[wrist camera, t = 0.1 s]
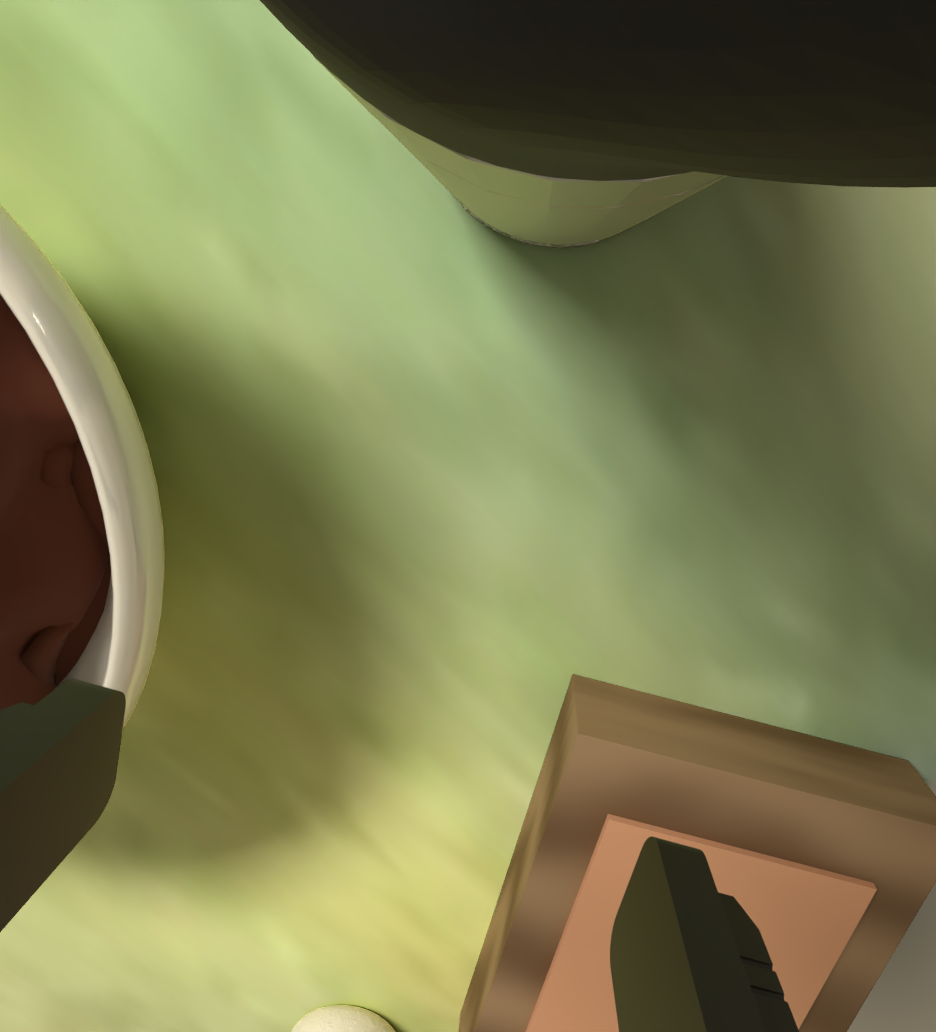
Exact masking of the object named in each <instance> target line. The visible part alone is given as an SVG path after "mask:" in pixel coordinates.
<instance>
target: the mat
mask: <svg viewBox="0 0 936 1032" xmlns="http://www.w3.org/2000/svg"><path fill="white" fill-rule="evenodd" d="M651 836H652V837H656V838H660V839H664V840H667V841H671V842H675V843H678V844H682V845H686V846H690V847H693V848H697V849H700V850H702V851H703V853H704V854H705V856H706V859H707V862H708V865H709V868H710V870H711V873H712V876H713V879H714V882H715V885H716V888H717V891H718V892H719V893H723V894H726V895H730V896H734V898H735V899H736V900H737V901H738V903H739V904H740V905H741V907H742V908H743V909H744V911H745V912H746V913H747V914H748V916H749V917H750V918H751V920H752V921H753V922H754V923H755V925H756V926H757V927H758V929H759V930H760V933H761V935H762V938H763V940H764V943H765V945H766V948H767V951H768V953H769V956H770V958H771V961H772V963H773V967H772V970H773V971H775V972H776V974H777V976H778V979H779V981H780V984H781V986H782V989H783V991H784V1001H786V1002H788V1004H789V1007H790V1009H791V1012H792V1014H793V1017H794V1020H795V1022H796V1025H797V1027H798V1030H799V1028H800V1026H801V1024H802V1023H803V1021H804V1019H805V1017H806V1015H807V1014H808V1012H809V1010H810V1008H811V1006H812V1005H813V1003H814V1001H815V999H816V998H817V996H818V994H819V992H820V990H821V989H822V987H823V985H824V983H825V982H826V980H827V978H828V976H829V974H830V973H831V971H832V969H833V967H834V965H835V964H836V962H837V960H838V958H839V957H840V955H841V953H842V951H843V949H844V948H845V946H846V944H847V942H848V940H849V939H850V937H851V935H852V933H853V932H854V930H855V928H856V926H857V924H858V923H859V921H860V919H861V917H862V915H863V914H864V912H865V910H866V908H867V907H868V905H869V903H870V901H871V899H872V898H873V896H874V894H875V892H876V891H877V888H876V887H875V885H874V883H872V882H868V881H865V880H861V879H857V878H853V877H849V876H845V875H841V874H838V873H834V872H830V871H826V870H822V869H818V868H815V867H811V866H807V865H803V864H799V863H795V862H791V861H788V860H784V859H780V858H776V857H772V856H768V855H765V854H761V853H757V852H753V851H749V850H745V849H741V848H738V847H734V846H730V845H726V844H722V843H718V842H715V841H711V840H707V839H703V838H699V837H695V836H692V835H688V834H684V833H680V832H676V831H672V830H668V829H665V828H661V827H657V826H653V825H649V824H645V823H642V822H638V821H634V820H630V819H626V818H622V817H618V816H615V815H611V814H608V815H607V818H606V820H605V823H604V826H603V828H602V831H601V834H600V836H599V839H598V841H597V844H596V847H595V849H594V852H593V855H592V857H591V860H590V863H589V865H588V868H587V871H586V873H585V876H584V878H583V881H582V884H581V886H580V889H579V892H578V894H577V897H576V900H575V902H574V905H573V908H572V910H571V913H570V915H569V918H568V921H567V923H566V926H565V929H564V931H563V934H562V937H561V939H560V942H559V945H558V947H557V950H556V952H555V955H554V958H553V960H552V963H551V966H550V968H549V971H548V974H547V976H546V979H545V982H544V984H543V987H542V989H541V992H540V995H539V997H538V1000H537V1003H536V1005H535V1008H534V1011H533V1013H532V1016H531V1019H530V1021H529V1024H528V1026H527V1029H526V1032H619V1027H618V1020H617V1012H616V1005H615V997H614V990H613V983H612V975H611V967H610V943H611V935H612V929H613V925H614V921H615V918H616V915H617V912H618V909H619V907H620V904H621V901H622V899H623V896H624V893H625V891H626V888H627V886H628V883H629V880H630V878H631V875H632V872H633V870H634V867H635V865H636V862H637V859H638V857H639V854H640V851H641V849H642V847H643V844H644V843H645V841H646V840H647V838H649V837H651Z"/></svg>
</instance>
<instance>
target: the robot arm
mask: <svg viewBox="0 0 936 1032" xmlns="http://www.w3.org/2000/svg"><path fill="white" fill-rule="evenodd" d="M260 1H261V2H262V3H263V4H264V5H265V6H266V7H267V8H268V9H269V11H270V12H271V13H272V14H273V15H274V16H275V17H276V18H277V19H278V20H279V21H280V22H281V23H282V24H283V25H284V27H285V28H286V29H287V30H288V31H289V32H290V33H292V34H293V35H294V36H295V37H296V38H297V39H298V40H299V41H300V42H301V43H302V44H303V45H304V46H305V47H306V48H307V49H308V50H309V51H310V52H311V53H312V54H313V56H314V57H315V58H316V59H317V60H318V61H319V62H320V63H321V64H322V65H323V66H324V67H325V68H326V69H327V70H328V71H329V72H330V73H331V74H332V75H333V76H334V77H335V78H336V79H337V80H338V81H339V82H340V83H341V84H342V85H343V86H344V87H345V88H346V89H347V90H348V91H349V92H350V93H351V94H352V95H353V96H354V97H355V98H356V99H357V100H358V101H359V102H360V103H361V104H362V105H363V106H364V107H365V108H366V109H367V110H368V111H369V112H370V113H371V114H372V115H373V116H374V117H375V118H376V119H378V120H379V121H380V122H381V123H382V124H383V125H384V126H385V127H386V128H387V129H388V130H389V131H390V132H391V133H392V134H393V135H394V136H395V137H396V138H397V139H398V140H399V141H400V142H401V143H402V144H403V145H404V146H405V147H406V148H407V149H408V150H409V151H410V152H411V153H412V154H413V155H414V156H415V157H416V158H417V159H418V160H419V161H420V162H421V163H422V164H423V165H424V166H425V167H426V168H427V169H428V170H429V171H430V172H431V173H432V174H433V175H434V176H435V177H436V178H437V179H438V180H439V181H440V182H441V183H442V184H443V185H444V186H445V187H446V188H447V189H448V190H449V191H450V192H451V194H452V195H453V196H454V197H455V198H456V199H457V200H458V201H460V202H461V203H462V204H463V208H464V209H465V210H467V211H468V212H469V213H470V214H471V215H472V216H474V217H475V218H476V219H478V220H479V221H480V222H482V223H483V224H484V223H485V225H486V226H488V227H492V229H493V230H495V231H498V232H499V233H501V234H503V235H506V236H508V237H510V238H513V239H517V240H519V241H522V242H525V243H527V244H534V245H540V246H549V247H567V246H570V247H572V246H579V245H587V244H591V243H596V242H599V240H603V239H606V238H609V237H612V236H615V235H617V234H619V233H621V232H623V231H624V230H626V229H629V228H631V227H633V226H635V225H637V224H639V223H641V222H643V221H645V220H647V219H649V218H650V217H652V216H654V215H656V214H658V213H660V212H662V211H664V210H665V209H667V208H669V207H671V206H673V205H675V204H677V203H678V202H680V201H682V200H684V199H686V198H688V197H690V196H692V195H693V194H695V193H697V192H699V191H701V190H703V189H705V188H707V187H708V186H710V185H712V184H714V183H716V182H718V181H720V180H722V179H723V178H725V177H727V176H734V177H743V178H752V179H762V180H771V181H780V182H791V183H805V184H820V185H834V186H860V187H936V0H260ZM125 707H126V698H125V695H124V693H123V692H121V691H118V690H114V689H110V688H107V687H103V686H99V685H95V684H92V683H88V682H84V681H81V680H77V679H69V680H67V681H66V682H64V683H63V684H61V685H60V686H59V687H57V688H56V689H55V690H53V691H52V692H51V693H49V694H48V695H47V696H46V697H44V698H43V699H42V700H40V701H39V702H38V703H36V704H35V705H30V704H27V703H23V702H20V703H18V704H15V705H12V706H10V707H7V708H4V709H2V710H0V932H1V931H2V929H3V928H4V927H5V926H6V925H7V924H8V923H9V921H10V920H11V919H12V918H13V917H14V916H15V915H16V913H17V912H18V911H19V910H20V909H21V908H22V907H23V905H24V904H25V903H26V902H27V901H28V900H29V899H30V897H31V896H32V895H33V894H34V893H35V892H36V890H37V889H38V888H39V887H40V886H41V885H42V884H43V882H44V881H45V880H46V879H47V878H48V877H49V876H50V874H51V873H52V872H53V871H54V870H55V869H56V868H57V866H58V865H59V864H60V863H61V862H62V861H63V860H64V858H65V857H66V856H67V855H68V854H69V853H70V852H71V850H72V849H73V848H74V847H75V846H76V845H77V843H78V842H79V841H80V840H81V839H82V838H83V837H84V835H85V834H86V833H87V832H88V831H89V830H90V829H91V827H92V826H93V825H94V824H95V823H96V821H97V820H98V818H99V817H100V815H101V814H102V812H103V810H104V809H105V807H106V805H107V803H108V800H109V798H110V796H111V793H112V790H113V787H114V783H115V779H116V772H117V765H118V758H119V751H120V744H121V736H122V729H123V722H124V715H125ZM610 967H611V975H612V983H613V990H614V997H615V1005H616V1012H617V1020H618V1027H619V1032H799V1030H798V1027H797V1025H796V1022H795V1020H794V1017H793V1014H792V1012H791V1009H790V1007H789V1004H788V1002H786V1001H784V991H783V989H782V986H781V984H780V981H779V979H778V976H777V974H776V972H775V971H773V970H772V967H773V963H772V961H771V958H770V956H769V953H768V951H767V948H766V945H765V943H764V940H763V938H762V935H761V933H760V930H759V929H758V927H757V926H756V925H755V923H754V922H753V921H752V920H751V918H750V917H749V916H748V914H747V913H746V912H745V911H744V909H743V908H742V907H741V905H740V904H739V903H738V901H737V900H736V899H735V898H734V896H730V895H726V894H723V893H719V892H718V891H717V888H716V885H715V882H714V879H713V876H712V873H711V870H710V868H709V865H708V862H707V859H706V856H705V854H704V853H703V851H702V850H700V849H697V848H693V847H690V846H686V845H682V844H678V843H675V842H671V841H667V840H664V839H660V838H656V837H652V836H651V837H649V838H647V840H646V841H645V843H644V844H643V847H642V849H641V851H640V854H639V857H638V859H637V862H636V865H635V867H634V870H633V872H632V875H631V878H630V880H629V883H628V886H627V888H626V891H625V893H624V896H623V899H622V901H621V904H620V907H619V909H618V912H617V915H616V918H615V921H614V925H613V929H612V935H611V943H610Z"/></svg>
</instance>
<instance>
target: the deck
mask: <svg viewBox="0 0 936 1032" xmlns="http://www.w3.org/2000/svg"><path fill="white" fill-rule="evenodd" d="M608 814H611V815H615V816H618V817H622V818H626V819H630V820H634V821H638V822H642V823H645V824H649V825H653V826H657V827H661V828H665V829H668V830H672V831H676V832H680V833H684V834H688V835H692V836H695V837H699V838H703V839H707V840H711V841H715V842H718V843H722V844H726V845H730V846H734V847H738V848H741V849H745V850H749V851H753V852H757V853H761V854H765V855H768V856H772V857H776V858H780V859H784V860H788V861H791V862H795V863H799V864H803V865H807V866H811V867H815V868H818V869H822V870H826V871H830V872H834V873H838V874H841V875H845V876H849V877H853V878H857V879H861V880H865V881H868V882H872V883H874V885H875V887H876V888H877V891H876V892H875V894H874V896H873V898H872V899H871V901H870V903H869V905H868V907H867V908H866V910H865V912H864V914H863V915H862V917H861V919H860V921H859V923H858V924H857V926H856V928H855V930H854V932H853V933H852V935H851V937H850V939H849V940H848V942H847V944H846V946H845V948H844V949H843V951H842V953H841V955H840V957H839V958H838V960H837V962H836V964H835V965H834V967H833V969H832V971H831V973H830V974H829V976H828V978H827V980H826V982H825V983H824V985H823V987H822V989H821V990H820V992H819V994H818V996H817V998H816V999H815V1001H814V1003H813V1005H812V1006H811V1008H810V1010H809V1012H808V1014H807V1015H806V1017H805V1019H804V1021H803V1023H802V1024H801V1026H800V1028H799V1032H847V1030H848V1029H849V1027H850V1025H851V1023H852V1022H853V1020H854V1018H855V1017H856V1015H857V1013H858V1011H859V1010H860V1008H861V1007H862V1005H863V1003H864V1002H865V1000H866V998H867V997H868V995H869V993H870V991H871V990H872V988H873V986H874V985H875V983H876V981H877V980H878V978H879V976H880V975H881V973H882V971H883V969H884V968H885V966H886V964H887V963H888V961H889V959H890V958H891V956H892V954H893V952H894V951H895V949H896V948H897V946H898V944H899V943H900V941H901V939H902V938H903V936H904V934H905V932H906V931H907V929H908V927H909V926H910V924H911V922H912V921H913V919H914V917H915V916H916V914H917V912H918V911H919V909H920V907H921V905H922V904H923V902H924V900H925V899H926V897H927V895H928V894H929V892H930V890H931V889H932V887H933V885H934V884H935V882H936V796H935V795H934V793H933V792H932V791H931V789H930V788H929V787H928V786H927V784H926V783H925V782H924V780H923V779H922V778H921V777H920V775H919V774H918V773H917V771H916V770H915V769H914V767H913V766H912V765H911V764H910V762H909V761H907V760H903V759H899V758H895V757H892V756H888V755H884V754H880V753H876V752H872V751H868V750H864V749H861V748H857V747H853V746H849V745H845V744H841V743H837V742H833V741H830V740H826V739H822V738H818V737H814V736H810V735H806V734H802V733H799V732H795V731H791V730H787V729H783V728H779V727H775V726H772V725H768V724H764V723H760V722H756V721H752V720H748V719H744V718H741V717H737V716H733V715H729V714H725V713H721V712H717V711H713V710H710V709H706V708H702V707H698V706H694V705H690V704H686V703H682V702H679V701H675V700H671V699H667V698H663V697H659V696H655V695H651V694H648V693H644V692H640V691H636V690H632V689H628V688H624V687H621V686H617V685H613V684H609V683H605V682H601V681H597V680H593V679H590V678H586V677H582V676H578V675H574V674H573V675H572V678H571V681H570V684H569V687H568V690H567V693H566V696H565V699H564V702H563V705H562V708H561V711H560V714H559V717H558V720H557V723H556V726H555V729H554V732H553V735H552V738H551V741H550V744H549V747H548V750H547V753H546V756H545V759H544V763H543V766H542V769H541V772H540V775H539V778H538V781H537V784H536V787H535V790H534V793H533V796H532V799H531V802H530V805H529V808H528V811H527V814H526V817H525V820H524V823H523V826H522V829H521V832H520V835H519V838H518V841H517V844H516V847H515V850H514V853H513V856H512V859H511V862H510V865H509V868H508V871H507V874H506V877H505V880H504V883H503V886H502V889H501V892H500V896H499V899H498V902H497V905H496V908H495V911H494V914H493V917H492V920H491V923H490V926H489V929H488V932H487V935H486V938H485V941H484V944H483V947H482V950H481V953H480V956H479V959H478V962H477V965H476V968H475V971H474V974H473V977H472V980H471V983H470V986H469V989H468V992H467V995H466V998H465V1001H464V1004H463V1007H462V1010H461V1013H460V1023H459V1032H526V1029H527V1026H528V1024H529V1021H530V1019H531V1016H532V1013H533V1011H534V1008H535V1005H536V1003H537V1000H538V997H539V995H540V992H541V989H542V987H543V984H544V982H545V979H546V976H547V974H548V971H549V968H550V966H551V963H552V960H553V958H554V955H555V952H556V950H557V947H558V945H559V942H560V939H561V937H562V934H563V931H564V929H565V926H566V923H567V921H568V918H569V915H570V913H571V910H572V908H573V905H574V902H575V900H576V897H577V894H578V892H579V889H580V886H581V884H582V881H583V878H584V876H585V873H586V871H587V868H588V865H589V863H590V860H591V857H592V855H593V852H594V849H595V847H596V844H597V841H598V839H599V836H600V834H601V831H602V828H603V826H604V823H605V820H606V818H607V815H608Z"/></svg>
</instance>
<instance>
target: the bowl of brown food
mask: <svg viewBox="0 0 936 1032" xmlns="http://www.w3.org/2000/svg"><path fill="white" fill-rule="evenodd" d="M164 569H165V552H164V531H163V519H162V513H161V506H160V499H159V492H158V486H157V481H156V477H155V473H154V469H153V465H152V461H151V457H150V453H149V449H148V445H147V442H146V439H145V436H144V433H143V430H142V427H141V425H140V422H139V419H138V416H137V413H136V410H135V407H134V404H133V402H132V400H131V397H130V395H129V393H128V391H127V388H126V386H125V384H124V382H123V379H122V377H121V375H120V373H119V370H118V368H117V366H116V364H115V362H114V360H113V358H112V356H111V354H110V353H109V351H108V349H107V347H106V345H105V343H104V342H103V340H102V338H101V336H100V334H99V332H98V331H97V329H96V327H95V325H94V323H93V322H92V320H91V319H90V317H89V315H88V314H87V312H86V311H85V309H84V308H83V306H82V305H81V303H80V302H79V300H78V299H77V297H76V296H75V294H74V293H73V291H72V290H71V288H70V287H69V285H68V283H67V282H66V281H65V279H64V278H63V277H62V276H61V274H60V273H59V272H58V270H57V269H56V268H55V267H54V265H53V264H52V263H51V261H50V260H49V259H48V258H47V256H46V255H45V254H44V252H43V251H42V250H41V249H40V247H39V246H38V245H37V243H36V242H35V241H34V240H33V239H32V238H31V237H30V236H29V235H28V234H27V232H26V231H25V230H24V229H23V228H22V227H21V226H20V225H19V224H18V223H17V221H16V220H15V219H14V218H13V217H12V216H11V215H10V214H9V213H8V212H7V211H6V209H5V208H4V207H3V206H2V205H1V204H0V710H2V709H4V708H7V707H10V706H12V705H15V704H18V703H20V702H23V703H27V704H30V705H35V704H36V703H38V702H39V701H40V700H42V699H43V698H44V697H46V696H47V695H48V694H49V693H51V692H52V691H53V690H55V689H56V688H57V687H59V686H60V685H61V684H63V683H64V682H66V681H67V680H69V679H77V680H81V681H84V682H88V683H92V684H95V685H99V686H103V687H107V688H110V689H114V690H118V691H121V692H123V693H124V695H125V698H126V707H125V715H124V722H123V729H124V728H125V726H126V724H127V722H128V721H129V719H130V717H131V716H132V714H133V712H134V709H135V707H136V705H137V702H138V700H139V698H140V695H141V693H142V691H143V688H144V686H145V684H146V680H147V677H148V673H149V670H150V666H151V663H152V660H153V656H154V653H155V648H156V642H157V636H158V630H159V624H160V618H161V611H162V601H163V587H164ZM123 729H122V731H123Z"/></svg>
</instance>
